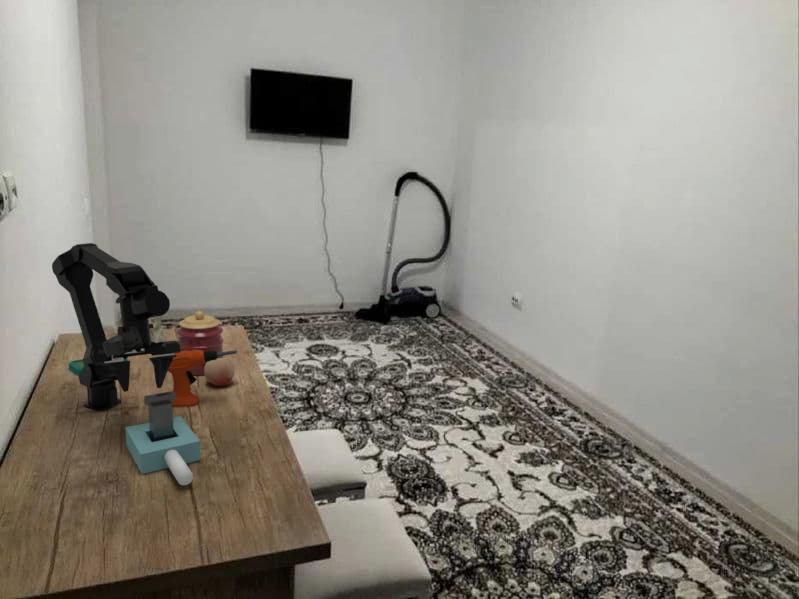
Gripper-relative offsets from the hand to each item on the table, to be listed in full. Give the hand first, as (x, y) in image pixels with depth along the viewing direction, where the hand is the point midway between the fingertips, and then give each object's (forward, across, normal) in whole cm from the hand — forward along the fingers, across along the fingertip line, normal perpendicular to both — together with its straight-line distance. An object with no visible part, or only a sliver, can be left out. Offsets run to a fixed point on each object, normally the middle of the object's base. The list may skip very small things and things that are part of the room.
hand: (142, 389), depth 141 cm
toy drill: (+6, -2, +23) cm, 24 cm away
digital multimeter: (-6, -42, +31) cm, 52 cm away
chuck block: (+16, +9, -5) cm, 19 cm away
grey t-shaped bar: (+14, +5, -2) cm, 15 cm away
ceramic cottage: (-12, -44, +52) cm, 69 cm away
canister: (-2, -15, +43) cm, 45 cm away
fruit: (+3, -4, +35) cm, 35 cm away
